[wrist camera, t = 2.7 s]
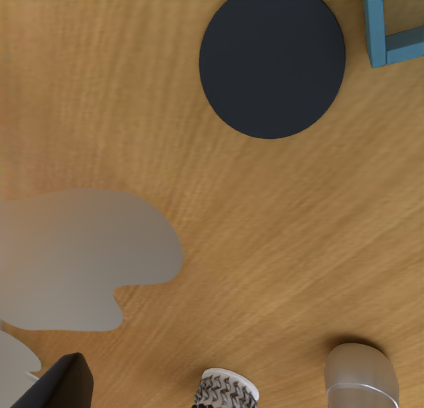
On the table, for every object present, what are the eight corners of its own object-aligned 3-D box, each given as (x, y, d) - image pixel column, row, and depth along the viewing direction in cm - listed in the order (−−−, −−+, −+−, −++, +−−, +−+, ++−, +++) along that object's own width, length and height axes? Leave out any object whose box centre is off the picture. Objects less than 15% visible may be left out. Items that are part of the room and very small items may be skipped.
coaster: (334, -49, 16) (334, -49, 15) (352, 123, 20) (353, 125, 20) (181, 15, 20) (179, 16, 19) (223, 147, 24) (222, 148, 24)
